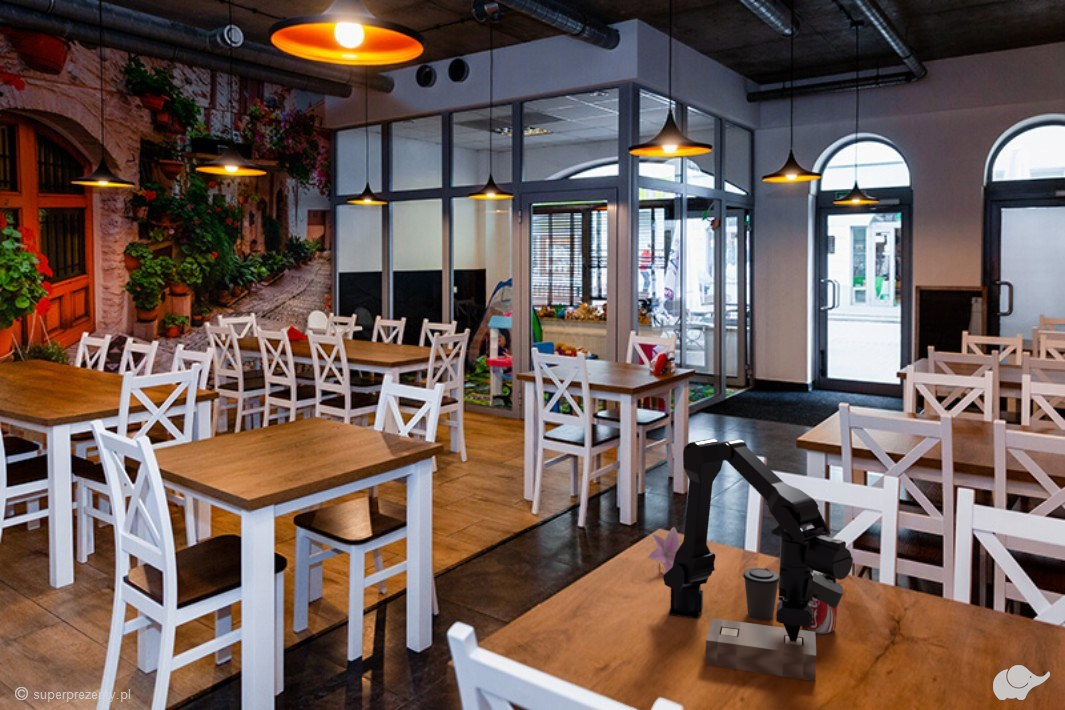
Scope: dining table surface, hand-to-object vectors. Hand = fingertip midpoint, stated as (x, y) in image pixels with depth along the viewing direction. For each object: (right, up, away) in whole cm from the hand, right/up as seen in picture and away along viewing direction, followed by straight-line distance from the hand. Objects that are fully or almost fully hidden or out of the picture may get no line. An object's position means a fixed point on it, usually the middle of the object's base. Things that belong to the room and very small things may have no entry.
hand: (793, 640), depth 152 cm
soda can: (+11, -3, +16) cm, 19 cm away
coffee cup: (0, -3, +22) cm, 23 cm away
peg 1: (-11, -4, +4) cm, 13 cm away
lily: (-15, 0, +49) cm, 51 cm away
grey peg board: (-6, -5, +2) cm, 8 cm away
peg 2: (0, -4, 0) cm, 5 cm away
